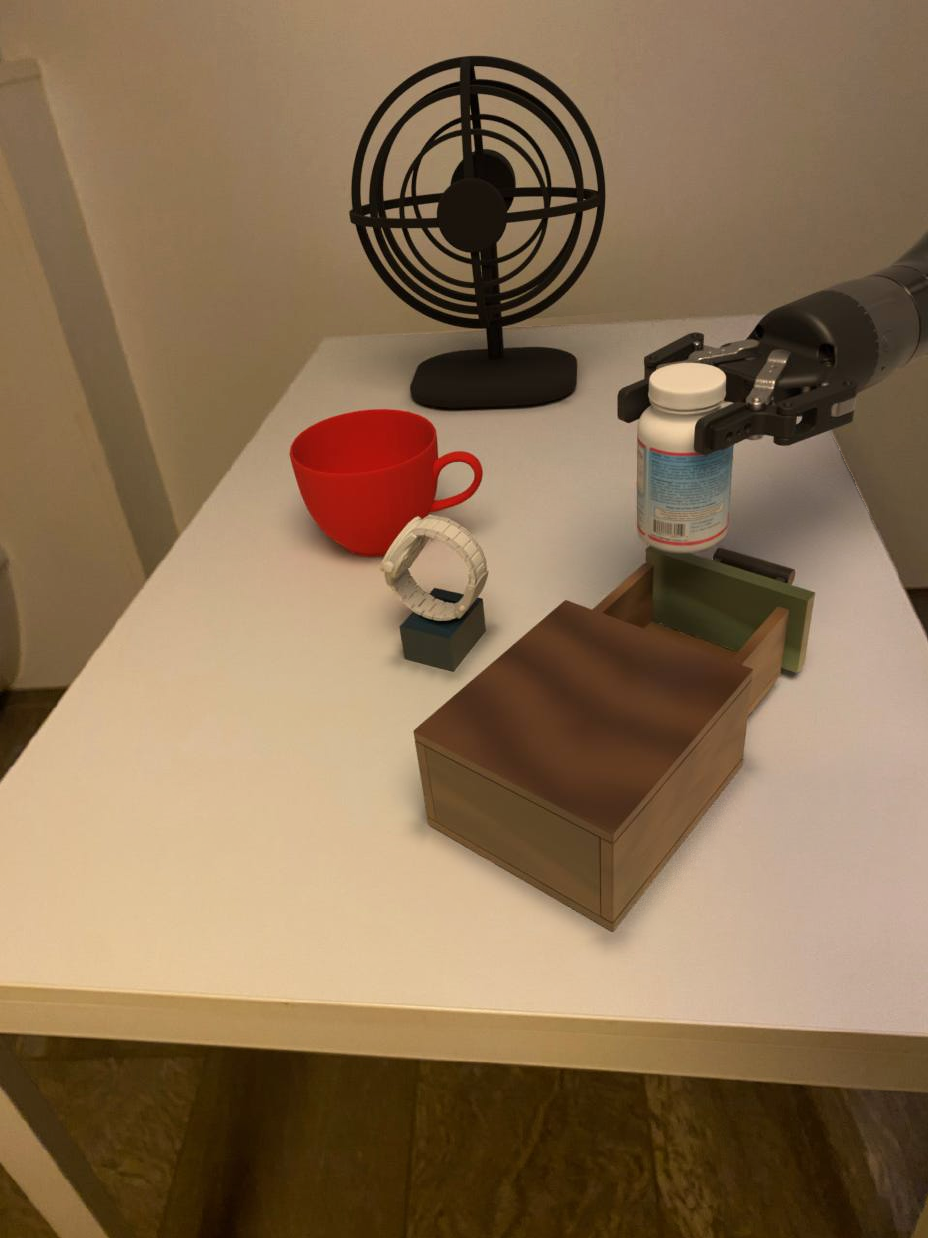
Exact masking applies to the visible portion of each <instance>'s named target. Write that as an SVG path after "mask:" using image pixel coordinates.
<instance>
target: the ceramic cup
mask: <svg viewBox="0 0 928 1238" xmlns="http://www.w3.org/2000/svg"><path fill="white" fill-rule="evenodd" d="M437 435H438V434H437V429H436V427H435V426H434V424H433V422H432V421H430V420H429V419H428V418H426V417H425V416H422V415H420V414H418V413H414V412H411V411H407V410H401V409H394V408H393V409H391V408H373V409H372V408H371V409H363V410H355V411H350V412H345V413H341V414H338V415H333V416H330V417H327V418H325V419H322V420H320V421H318V422H316V423H314V424H312V425H310V426H308V427H307V428H306V429H304V430H302V431H301V432H300V433H299V434H298V435H297V436H296V437H295V438H294V439H293V441H292V443H291V445H290V448H289V458H290V463H291V466H292V470H293V474H294V477H295V481H296V485H297V487H298V490H299V492H300V496H301V498H302V501H303V503H304V506H305V507H306V509H307V511H308V513H309V515H310V516H311V517H312V519H313V521H314V522H315V523H316V524H317V526H318V527H319V528H320V530H321V531H322V532H323V533H324V534H325V535H326V536H327V537H329V539H332V540H333V541H335V542H336V543H337V544H338V545H340V546H342V547H343V548H345V549H346V550H347V551H348V552H350V553H352V554H354V555H358V556H361V557H362V556H363V557H379V556H381V557H382V556H385V554H386V553H387V551H388V549H389V548H390V546H391V545H392V543H393V542H394V540H395V539H396V538H397V536H398V535H399V534H400V532H401V531H402V530H403V529H404V527H405V526H406V525H407V524H408V523H409V522H410V521H411V520H412V519H414V518H415V517H420V518H421V519H423V518H425V517H426V516H428V515H431V513H435V512H439V511H442V510H446V509H450V508H453V507H456V506H458V505H461V504H463V503H464V502H466V501H468V500H469V499H470V498H472V497H473V496H474V495H475V493H476V492H477V491H478V489H479V487H480V486H481V483H482V481H483V476H484V471H483V466H482V463H481V461H480V459H478V457H477V456H476V455H474V454H472V453H471V452H468V451H464V450H456V451H451V452H448V453H445V454H443V455H441V456H440V457H439V445H438V436H437ZM454 463H464V464H466V465H468V466H469V467H470V468H471V469H472V471H473V475H474V477H473V480H472V483H471V484H470V485H469V486H468V488H466V489H465V490H464V491H462V492H460V493H458V494H455V495H453V496H450V497H446V498H441V499H436V496H437V491H438V485H439V477H440V474H441V472H442V470H443V469H444V468H445V467H447V466H448V465H450V464H454Z"/></svg>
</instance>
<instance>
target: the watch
mask: <svg viewBox="0 0 928 1238" xmlns="http://www.w3.org/2000/svg"><path fill="white" fill-rule="evenodd" d="M429 538H432V539H436V540H437V541H439V542H442V543H443V544H446V546H448V547H449V548H450V549H452V550H453V551H455V552H456V554H458V555H459V557H460V558H461V559H463V562H464V564H465V566H466V567H467V569H469V570H468V572H469V574H468V581H467V584H466V586H465V590H464V593H461V592H455V591H451V590H446V589H442V588H437V587H433V588H432V589H431V591H430V592H429V593H428V592H426V591H425V590H424V589H423V588H422V586H421V585H419V584H417V583H418V582H417V581H416V580H415V578H414V577H413V576H412V575H411V572H410V570H409V569H410V568H411V567H412V566H413V564H414V562H415V561H416V559H417V558H418V557H419V555H420V554H421V552H422V551H423V549H424V548H425V546H426V544H427V542H428V540H429ZM379 570H380V571H381V572H383V573H384V579H385V583H386V585H387V586H388V587H389V588H390V589H391V591H392V592H393V593H394V596H396V597H397V599H398V600H399V601H401V603H402V604H403V605H404V606H405V607H406V608H408V609H409V610H411V613H410V614H409V615H408V616H407V617H406V618H405V620H404V621H403V622H402V623H401V624H400V625H399V626H398V628H399V633H400V640H401V645H402V652H403V658H404V660H408V661H411V662H416V663H419V664H423V665H426V666H430V667H435V668H438V669H442V670H444V671H445V670H446V671H449V672H455V670H457V668H458V666H459V665H460V664H461V663H462V662H463V660H464V659H465V658H466V657H467V655H468V654H469V653H470V651H471V650H472V649H473V647H474V646H475V645H476V644H477V642H478V641H479V640H480V639H481V638H482V637H483V635H484V633H485V632H486V630H487V627H486V619H485V616H486V615H485V607H484V598H483V597H479V596H480V595H481V593H482V592H483V590H484V588H485V586H486V583H487V580H488V577H489V570H488V565H487V558H486V555H485V553H484V550H483V548H482V547H481V545H480V544H479V542H478V541H477V539H476V538H475V536H473V534H471V532H470V531H468V529H467V528H465V527H464V526H463V525H461V524H460V523H458V522H456V521H455V520H452V519H450V518H447V517H444V516H438V515H433V514H429V515H428V516H426V517H425V518H423V519H421V518H420V517H415V518H414V519H412V520H411V521H410V522H409V523H408V524H407V525H406V526H405V527H404V529H403V530H402V531H401V532H400V534H399V535H398V536H397V538H396V539H395V540H394V542H393V543H392V545H391V546H390V548H389V549H388V551H387V553H386V554H385V555H383V559H382V561H381V563H380V566H379Z"/></svg>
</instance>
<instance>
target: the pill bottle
mask: <svg viewBox="0 0 928 1238" xmlns="http://www.w3.org/2000/svg"><path fill="white" fill-rule="evenodd" d="M725 396H726V375H725V373H724V372H723V371H721V370H720V369H719V368H717V367H714V366H711V365H707V364H700V363H679V364H673V365H668V366H665V367H662V368H660V369H658V370H656V371H655V372H653V373H652V374H651V376H650V378H649V392H648V397H649V401H650V403H651V406H649V407H648V408H647V409H646V410H645V411H644V412H643V413H642V415H641V417H640V419H638V420H637V421H638V422H637V427H636V428H637V429H636V430H637V431H636V530H637V534H638V536H639V537H640V539H641V540H642V541H643V542H644V543H645V544H646V545H648V546H651V547H654V548H656V549H658V550H662V551H665V552H670V553H680V554H685V553H691V554H695V553H699V552H703V551H705V550H708V549H710V548H712V547H714V546H716V545H717V544H718V543H720V542H721V541H722V540H723V539H724V537H726V534H727V532H728V530H729V520H730V506H731V491H732V475H733V461H734V448H735V444H734V445H732V446H730V447H728V448H726V449H724V450H719V451H715V452H713V453H711V454H709V455H707V456H705V455H702V454H700V453H698V452H695V450H694V433H695V425H696V423H697V421H698V420H699V419H700V418H702V417H704V416H706V415H709V414H711V413H713V412H715V411H717V410H720V409H722V408H724V407H726V406H725V405H724V403H723V401H724V398H725Z"/></svg>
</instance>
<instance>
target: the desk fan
mask: <svg viewBox="0 0 928 1238" xmlns="http://www.w3.org/2000/svg"><path fill="white" fill-rule="evenodd" d="M475 67H481V68H482V67H483V68H491V69H499V70H503V71H507V72H510V73H513V74H516V75H519V76H521V77H523V78H525V79H527V80H529V81H531V82H533V83H534V84H536V85H538V86H539V87H541V88H542V89H544V90H545V91H546V92H548V93H549V94H550V95H551V96H552V97H554V99H556V100H557V101H558V102H559V103H560V104H561V105H562V106H563V107H564V108H565V110H566V112H568V113H569V115H570V116H571V117H572V119H573V121H574V122H575V124H576V125H577V127H578V128H579V130H580V132H581V134H582V136H583V137H584V140H585V142H586V144H587V146H588V149H589V152H590V155H591V158H592V162H593V166H594V171H595V177H596V185H597V190H595V189H591V188H585V183H584V174H583V168H582V164H581V161H580V156H579V153H578V150H577V148H576V145H575V143H574V141H573V139H572V137H571V135H570V133H569V131H568V130H567V128H566V126H565V125H564V123H563V121H561V119H560V118H559V117H558V116H557V115H556V114H555V112H554V111H553V110H552V109H551V108H550V107H549V106H548V105H547V104H545V102H543V101H542V100H541V99H539V98H538V97H536V96H535V95H533V93H530V92H529V91H527V90H525V89H523V88H521V87H519V86H516V85H515V84H511V83H508V82H504V81H500V80H495V79H486V78H477V76H476V70H475ZM454 69H455V70H456V69H459V80H458V81H453V82H451V83H447V84H444V85H442V86H440V87H437V88H435V89H434V90H431V91H430V92H428V93H426V94H425V95H424V96H422V97H421V98H419V99H418V100H417V101H416V102H414V104H412V105H411V106H410V107H409V108H408V109H407V110H406V111H405V112H404V113H403V115H402V116H401V117H400V118H399V119H398V120H397V121H396V122H395V123H394V124H393V126H392V128H391V129H390V130H389V132H388V133H387V135H386V136H385V138H384V140H383V141H382V143H381V145H380V147H379V150H378V152H377V154H376V157H375V160H374V162H373V166H372V169H371V175H370V180H369V188H368V189H369V191H368V203H366V204H363V205H362V195H361V194H362V193H361V191H362V189H361V188H362V187H361V186H362V173H363V167H364V162H365V158H366V154H367V150H368V147H369V144H370V141H371V139H372V137H373V134H374V132H375V130H376V128H377V127H378V125H379V123H380V121H381V120H382V119H383V117H384V115H385V114H386V112H387V111H388V110H389V109H390V107H391V106H392V105H393V104H394V103H395V102H396V101H397V100H398V99H399V98H400V97H401V96H402V95H403V94H405V92H407V91H408V90H410V89H411V88H412V87H414V86H415V85H417V84H419V83H420V82H422V81H424V80H426V79H428V78H430V77H432V76H434V75H438V74H440V73H443V72H445V71H449V70H454ZM479 95H486V96H492V97H497V98H500V99H504V100H507V101H509V102H511V103H514V104H516V105H518V106H520V107H522V108H524V109H525V110H527V111H528V112H530V113H531V114H533V115H534V117H536V118H538V119H539V120H540V122H542V123H543V124H544V125H545V126H546V127H547V128H548V129H549V131H550V132H551V133H552V134H553V135H554V137H555V138H556V139H557V141H558V143H559V144H560V146H561V148H562V150H563V152H564V153H565V156H566V158H567V160H568V163H569V165H570V168H571V171H572V176H573V180H574V184H575V187H570V186H552V185H553V184H552V177H551V172H550V171H551V170H550V168H549V164H548V161H547V158H546V157H545V154H544V152H543V150H542V149H541V148H540V146H539V144H538V143H537V141H536V140H535V138H533V137H532V135H530V133H528V131H526V130H525V129H524V128H522V126H520V125H519V124H517V123H515V122H513V121H512V120H510V119H508V118H505V117H502V116H499V115H496V114H490V113H481V109H480V108H481V107H480V101H479V100H480V99H479ZM457 96H459V106H460V109H459V110H460V117H456V118H454V119H453V120H450V121H448V122H447V123H445V124H444V125H442V126H441V127H439V128H438V129H437V130H436V131H435V132H434V133H433V134H432V135H431V136H430V137H429V139H428V140H427V141H426V142H425V144H424V145H423V147H422V148H421V150H420V152H419V153H418V154H417V155H416V156H415V157H414V160H413V161H412V162H411V164H410V165H409V167H408V169H407V171H406V173H405V176H404V178H403V181H402V183H401V188H400V193H399V197H396V198H392V199H385V196H384V182H385V181H384V179H385V172H386V166H387V162H388V158H389V155H390V152H391V150H392V147H393V145H394V142H395V140H396V138H397V137H398V135H399V134H400V131H402V129H403V127H404V126H405V124H406V123H407V122H409V120H411V119H412V118H413V117H414V116H415V115H417V114H418V113H419V112H421V111H423V110H424V109H425V108H428V107H429V106H431V105H432V104H433V105H434V103H438V102H440V101H443V100H445V99H449V98H452V97H457ZM482 121H490V122H496V123H499V124H501V125H504V126H507V127H509V128H511V129H512V130H514V131H515V132H517V133H518V134H520V135H521V136H522V137H523V138H524V139H526V141H527V142H528V143H529V144H530V145H531V147H532V148H533V150H534V151H535V153H536V154H537V156H538V158H539V160H540V163H541V165H542V167H543V171H544V175H545V180H546V183H545V180H544V178H543V175H542V172H541V171H540V169H539V167H538V165H537V164H536V162H535V161H534V159H533V158H532V157H531V155H530V154H529V153H528V152H527V151H526V150H525V149H524V148H523V147H522V146H521V145H519V144H518V143H517V142H516V141H514V140H513V139H511V138H509V137H507V136H506V135H504V134H502V133H499V132H496V131H492V130H489V129H484V128H482ZM459 124H460V128H461V129H457V130H456V129H455V130H453V131H450V132H447V133H445V134H443V133H444V132H445V131H447V130H449V129H451V128H452V127H455V126H457V125H459ZM442 134H443V135H442ZM472 136H473V140H472ZM457 137H461V147H462V160H461V161H460V162H459V163H458V164H457V165H456V167H455V169H454V171H453V173H452V175H451V180H450V185H449V186H447V188H446V189H445V190H444V191H443V192H437V193H427V194H420V195H419V194H417V178H418V174H419V169H420V167H421V166H420V165H421V163H422V160H423V158H424V157H425V155H426V154H428V153H429V152H430V151H431V150H432V149H434V148H435V147H436V146H438V145H440V144H442V143H444V142H445V141H448V140H450V139H454V138H457ZM483 137H488V138H492V139H494V140H497V141H499V142H502V143H504V144H505V145H507V146H509V147H510V148H512V149H513V150H514V151H516V152H517V153H518V154H519V155H520V157H522V158H523V159H524V160H525V161H526V163H527V164H528V165H529V167H530V168H531V170H532V171H533V173H534V175H535V177H536V179H537V181H538V184H539V186H528V187H527V186H524V187H523V186H522V187H517V186H516V185H517V179H516V173H515V171H514V167H513V166H512V164H511V162H510V160H509V159H508V158H506V156H505V155H503V154H502V153H500V152H499V151H497V150H494V149H489V148H484V139H483ZM472 141H473V143H472ZM473 145H474V146H473ZM598 145H599V144H598V143H597V140H596V138H595V136H594V132H593V131H592V129H591V127H590V125H589V123H588V121H587V119H586V118H585V116H584V115H583V113H582V112H581V110H580V109H579V107H578V106H577V104H576V103H574V101H573V100H572V99H571V98H570V97H569V95H568V94H567V93H566V92H565V91H563V89H561V88H560V87H559V86H558V85H557V84H556V83H555V82H553V81H552V80H551V79H549V78H548V77H547V76H545V75H543V74H542V73H540V72H539V71H537V70H535V69H533V68H532V67H529V66H527V65H524V64H522V63H520V62H517V61H514V60H510V59H506V58H502V57H497V56H491V55H490V56H489V55H466V56H465V55H464V56H457V57H452V58H448V59H445V60H444V59H443V60H440V61H438V62H435V63H432V64H431V65H428V66H426V67H424V68H422V69H420V70H419V71H417V72H415V73H413V74H412V75H411V76H409V77H407V78H406V79H405V80H403V81H402V82H401V83H400V84H399V85H397V86H396V87H395V88H394V89H393V90H392V91H391V92H390V93H389V94H388V95H387V96H386V97H385V98H384V100H383V101H382V102H381V103H380V104H379V106H377V109H376V110H375V111H374V113H373V114H372V116H371V118H370V119H369V121H368V123H367V125H366V126H365V129H364V131H363V133H362V135H361V138H360V140H359V143H358V146H357V149H356V152H355V157H354V161H353V166H352V172H351V173H352V174H351V184H350V186H351V187H350V194H351V195H350V197H351V199H350V200H351V209H350V210H349V211H348V215H349V221H350V224H353V225H355V230H356V232H357V236H358V238H359V241H360V244H361V247H362V249H363V251H364V253H365V255H366V257H367V259H368V261H369V263H370V265H371V266H372V268H373V269H374V271H375V273H376V274H377V275H378V277H379V278H380V279H381V281H382V282H383V283H384V284H385V285H386V286H387V288H388V289H389V290H390V291H391V292H392V293H393V294H394V295H395V296H397V297H398V299H400V300H401V301H402V302H403V303H404V304H407V305H408V306H409V307H410V308H411V309H413V310H415V311H416V312H418V313H420V314H422V315H424V316H426V317H428V318H429V319H431V320H434V321H437V322H439V323H443V324H445V325H446V324H447V325H448V326H452V327H453V326H454V327H456V328H457V327H458V328H462V329H471V330H472V329H473V330H476V329H477V330H485V334H486V345H487V348H476V349H475V348H474V349H472V348H471V349H463V350H462V349H461V350H455V351H454V350H453V351H448V352H445V353H440V354H437V355H434V356H431V357H429V358H427V359H425V360H423V361H422V362H420V363H419V364H418V365H417V367H416V369H415V372H414V375H413V377H412V379H411V383H410V385H409V390H410V391H409V392H410V396H411V397H412V398H413V399H414V400H415V401H416V402H418V403H421V404H423V405H426V406H431V407H439V408H451V409H452V408H453V409H455V408H456V409H457V408H485V407H486V408H487V407H509V406H511V407H512V406H529V405H536V404H541V403H547V402H550V401H554V400H558V399H560V398H562V397H564V396H567V395H568V394H570V393H572V392H573V391H574V390H575V388H576V387H577V383H578V382H577V381H578V379H577V377H578V359H577V357H576V356H575V355H574V354H573V353H571V352H569V351H566V350H563V349H559V348H554V347H548V346H547V347H546V346H518V347H517V346H516V347H505V346H504V345H505V344H504V331H503V327H508V326H511V325H515V324H519V323H521V322H524V321H527V320H529V319H531V318H533V317H535V316H538V315H539V314H541V313H542V312H544V311H546V310H547V309H549V308H550V307H551V306H553V305H555V304H556V303H557V302H558V301H559V300H561V299H562V297H564V296H565V294H567V292H569V290H571V288H572V287H573V286H575V284H576V282H578V280H579V279H580V277H581V276H582V274H583V273H584V271H585V270H586V268H587V266H588V265H589V264H590V261H591V260H592V257H593V254H594V253H595V250H596V248H597V245H598V242H599V239H600V236H601V232H602V229H603V224H604V218H605V212H606V195H607V194H606V177H605V176H606V175H605V170H604V164H603V159H602V156H601V151H600V149H599V146H598ZM473 147H474V151H473ZM410 179H411V183H410V184H411V185H410V189H411V190H410V193H411V195H410V196H406V193H407V189H408V185H409V181H410ZM532 197H534V198H537V197H538V198H542V199H543V200H542V202H543V207H542V208H535V209H529V210H519V211H509V210H510V208H511V206H512V204H513V203H514V199H515V198H532ZM552 198H574V199H576V202H570V203H567V204H561V205H555V206H551V203H552ZM428 204H429V205H430V204H437V207H436V217H423V216H422V213H421V211H420V208H419V206H421V205H428ZM405 207H412V208H413V212H414V215H415V217H414V218H413V217H412V218H411V217H409V218H408V217H406V213H405V212H406V211H405ZM595 208H596V213H595V219H594V224H593V227H592V232H591V235H590V237H589V240H588V243H587V246H586V248H585V250H584V252H583V254H582V256H581V258H580V260H579V261H578V263H577V265H576V266H575V267H574V269H573V270H572V271H571V273H570V274H569V275H568V276H567V278H566V279H565V280H564V281H563V282H562V283H561V284H560V286H559V287H557V288H556V289H555V290H554V291H552V292H551V293H550V294H549V295H548V296H546V297H544V299H542V300H540V301H539V302H537V303H535V304H533V305H531V306H529V307H527V308H525V309H523V310H521V311H518V312H514V313H512V314H508V315H504V316H503V315H502V312H503V313H504V312H506V311H510V310H512V309H516V308H518V307H520V306H522V305H525V304H526V303H528V302H529V301H531V300H533V299H534V298H536V297H538V296H540V294H541V293H543V292H544V291H546V289H548V287H550V285H552V284H553V282H554V281H556V279H557V278H558V276H560V274H561V273H562V272H563V270H564V269H565V267H566V265H567V264H568V262H569V260H570V258H571V257H572V254H573V253H574V251H575V248H576V245H577V242H578V241H579V236H580V233H581V229H582V225H583V217H584V212H586V211H589V210H593V209H595ZM394 209H395V210H396V209H398V214H399V216H398V217H388V216H387V212H386V211H388V210H394ZM508 211H509V212H508ZM367 215H369V216H367ZM568 215H574V218H573V222H572V226H571V229H570V231H569V234H568V236H567V238H566V240H565V242H564V244H563V246H562V248H561V249H560V251H559V252H558V254H557V255H556V256H555V258H554V259H553V260H552V261H551V263H549V264H548V266H547V267H546V268H545V269H544V270H543V271H541V272H540V273H539V274H538V275H536V276H535V277H533V278H532V279H530V280H529V281H527V282H525V283H523V284H522V285H520V286H518V287H517V286H516V287H514V288H512V289H510V290H506V291H502V292H501V291H500V290H501V289H500V288H501V287H500V285H501V284H503V283H506V282H509V280H512V279H513V278H515V277H516V276H518V275H519V274H521V272H523V270H525V268H527V267H528V266H529V265H530V263H531V262H532V261H533V259H534V258H535V257H536V256H537V254H538V252H539V250H540V248H541V246H542V244H543V242H544V239H545V236H546V234H547V233H546V232H547V229H548V225H549V224H548V222H549V219H551V218H556V217H557V218H558V217H563V216H568ZM538 220H540V222H539V224H538V225H537V227H536V229H535V231H533V234H532V235H531V236H530V237H529V238H528V240H527V241H525V242H524V243H523V244H521V246H519V247H518V248H516V249H515V250H513V251H511V252H510V253H507V254H505V255H502V256H499V257H498V242H499V241H500V240H501V238H502V237H503V236H504V233H505V232H506V228H507V224H511V223H519V222H528V221H538ZM367 228H372V230H373V234H374V237H375V240H376V243H377V246H378V247H379V250H380V252H381V254H382V256H383V258H384V260H385V261H386V263H387V264H388V266H389V268H390V269H391V270H392V272H393V273H394V274H395V275H396V277H397V278H398V279H399V280H400V281H401V283H403V284H404V285H405V286H406V288H408V289H409V290H411V291H412V292H413V293H414V294H415V295H417V296H418V297H420V298H422V299H423V300H425V301H426V302H428V303H430V304H432V305H434V306H437V307H438V308H442V309H443V310H446V311H450V312H452V313H453V312H454V313H458V314H464V315H474V316H475V315H476V316H477V317H478V318H476V317H475V318H474V317H473V318H472V317H464V316H459V315H455V314H450V313H447V312H444V311H442V310H439V309H436V308H434V307H432V306H430V305H428V304H427V303H425V302H423V301H421V300H420V299H418V298H417V297H415V296H414V295H413V294H411V293H410V292H409V291H407V289H405V288H404V287H403V286H402V285H401V284H400V283H399V282H398V281H397V280H396V279H395V278H394V276H392V275H391V273H390V272H389V270H387V267H386V266H385V265H384V264H383V262H382V260H381V259H380V257H379V256H378V253H377V251H376V249H375V248H374V245H373V243H372V241H371V238H370V236H369V232H368V229H367ZM392 229H401V231H402V234H403V237H404V239H405V242H406V244H407V246H408V248H409V250H410V252H411V253H412V255H413V256H414V257H415V259H416V260H417V262H419V264H420V265H421V266H422V267H423V269H425V270H426V271H428V272H429V273H430V274H432V275H433V276H434V277H436V278H438V279H439V280H441V281H443V282H445V283H448V284H450V285H453V286H456V287H459V288H464V289H474V293H467V292H462V291H458V290H455V289H451V288H449V287H447V286H444V285H442V284H440V283H438V282H436V281H435V280H433V279H432V278H430V277H428V276H427V275H426V274H424V272H422V271H420V270H419V268H417V266H415V264H413V263H412V261H410V259H409V258H408V257H407V255H406V254H405V253H404V252H403V250H402V248H401V246H400V245H399V243H398V241H397V240H396V238H395V236H394V233H393V232H392ZM409 229H421V230H422V232H423V233H424V235H425V237H426V238H427V239H428V240H429V241H430V242H431V244H432V245H433V246H434V247H435V248H436V249H438V251H440V252H442V253H443V254H444V255H446V256H447V257H449V258H451V259H453V260H454V261H455V260H456V261H457V262H460V263H464V264H468V265H471V272H472V279H473V282H472V281H465V280H460V279H456V278H454V277H451V276H449V275H447V274H445V273H443V272H441V271H439V270H438V269H436V268H435V267H434V266H432V264H430V263H429V262H428V261H427V260H426V259H425V258H424V257H423V256H422V254H421V253H420V252H419V250H418V249H417V247H416V245H415V243H414V242H413V240H412V237H411V235H410V231H409ZM429 229H439V231H440V234H441V235H442V238H444V240H445V241H446V242H447V243H448V244H449V245H450V246H451V247H452V248H454V249H456V250H458V251H460V252H464V253H468V254H470V257H466V256H464V255H461V254H458V253H456V252H454V251H452V250H450V249H449V248H447V247H446V246H445V245H443V244H442V243H441V242H440V241H439V240H438V239H437V238H436V237H435V236H434V234H432V232H431V231H430V230H429ZM538 236H539V237H538ZM536 239H538V240H537V241H536V244H535V246H534V247H533V249H532V251H531V252H530V253H529V255H528V256H527V257H526V259H525V260H524V261H523V262H522V263H520V265H519V266H517V267H516V268H515V269H513V270H512V271H510V272H509V273H507V274H505V275H503V276H500V273H499V264H501V263H505V262H506V261H507V262H508V261H509V260H511V259H513V258H516V257H517V256H518V255H520V254H521V253H523V252H524V251H526V250H527V249H528V248H529V247H530V246H531V245H532V244H533V243H534V241H535V240H536ZM389 247H390V248H389ZM390 249H391V250H390ZM391 251H392V252H391ZM392 253H393V254H394V255H395V256H394V255H393V254H392ZM395 257H396V259H397V260H398V261H399V262H400V263H401V265H402V266H403V267H404V268H405V270H406V271H407V272H408V273H409V274H410V275H411V276H412V277H413V278H414V279H416V280H417V281H418V282H419V283H421V284H422V285H424V286H425V287H427V288H428V289H430V290H431V291H433V292H435V293H437V294H439V295H441V296H444V297H446V298H449V299H452V300H456V301H460V302H466V303H474V304H476V305H470V304H469V305H468V304H463V303H462V304H461V303H456V302H452V301H449V300H448V299H447V300H446V299H445V298H441V297H439V296H437V295H436V294H433V293H431V292H430V291H428V290H427V289H425V288H423V287H422V286H421V285H420V284H419V283H417V282H416V281H415V280H413V278H411V276H409V275H408V273H407V272H406V271H405V270H404V269H403V268H402V266H401V265H400V264H399V263H398V261H397V260H396V259H395ZM507 300H508V301H507ZM503 301H505V302H503Z"/></svg>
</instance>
